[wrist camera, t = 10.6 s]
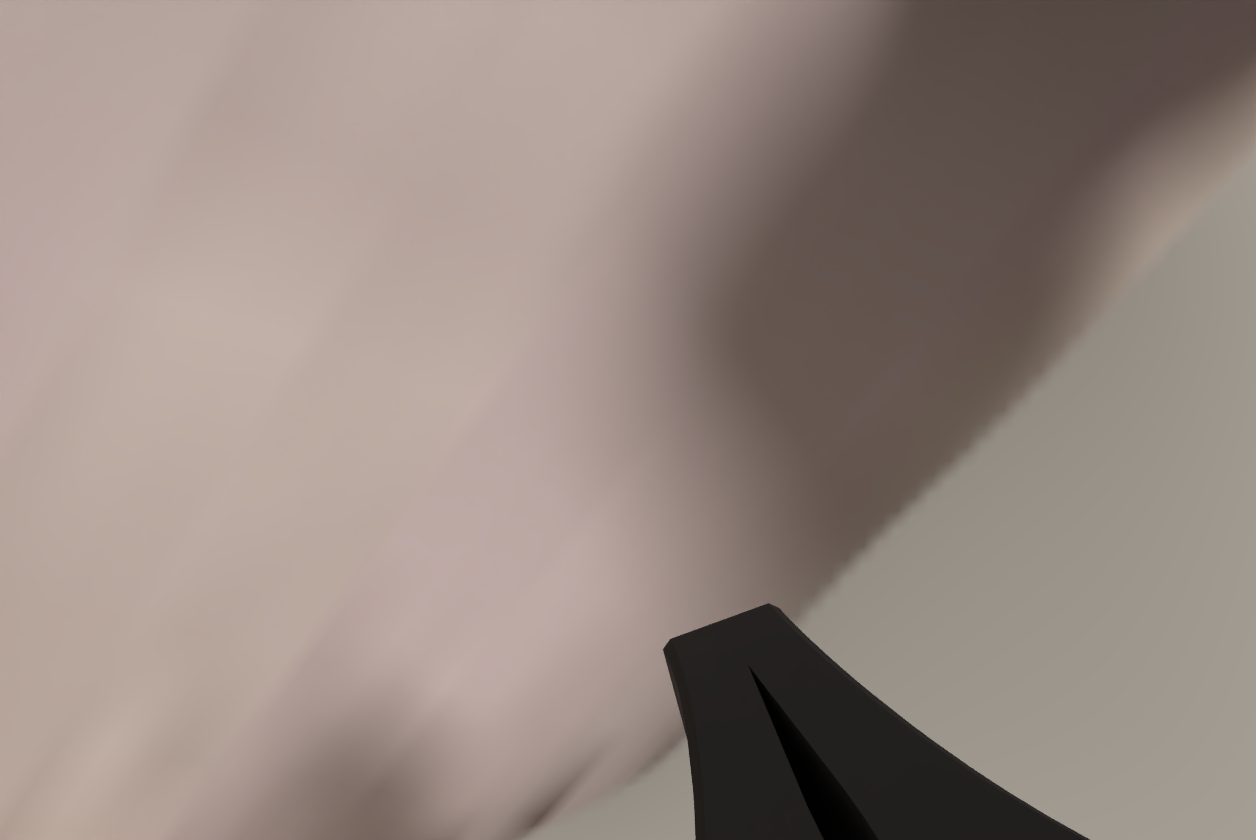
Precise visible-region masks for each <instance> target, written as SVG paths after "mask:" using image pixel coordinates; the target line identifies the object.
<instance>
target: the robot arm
mask: <svg viewBox="0 0 1256 840" xmlns="http://www.w3.org/2000/svg"><path fill="white" fill-rule="evenodd" d="M663 651H664V655H665V659H666V662H667V666H668V670H669V673H670V677H671V681H672V684H673V688H674V692H675V695H676V699H677V703H678V707H679V710H680V714H681V718H682V721H683V725H684V729H685V732H686V736H687V740H688V748H689V757H690V765H691V774H692V783H693V794H694V809H695V835H696V840H1089V839H1088V838H1086V837H1084V836H1082V835H1081V834H1078V833H1077V832H1075V831H1074V830H1072V829H1070V828H1068V827H1066V826H1065V825H1063V824H1061V823H1059V822H1057V821H1056V820H1054V819H1052V818H1050V817H1049V816H1047V815H1045V814H1044V813H1042V812H1040V811H1039V810H1037V809H1035V808H1034V807H1032V806H1031V805H1029V804H1027V803H1026V802H1024V801H1022V800H1020V799H1019V798H1017V797H1016V796H1014V795H1012V794H1011V793H1009V792H1007V791H1006V790H1004V789H1003V788H1001V787H1000V786H998V785H997V784H995V783H994V782H992V781H990V780H989V779H987V778H986V777H984V776H983V775H981V774H980V773H978V772H977V771H975V770H974V769H972V768H971V767H969V766H968V765H967V764H965V763H964V762H962V761H961V760H960V759H958V758H957V757H955V756H954V755H952V754H951V753H949V752H948V751H947V750H945V749H944V748H942V747H941V746H940V745H938V744H937V743H935V742H934V741H933V740H931V739H930V738H928V737H927V736H926V735H924V734H923V733H922V732H921V731H919V730H918V729H916V728H915V727H914V726H912V725H911V724H910V723H909V722H907V721H906V720H905V719H903V718H902V717H901V716H899V715H898V714H897V713H896V712H895V711H893V710H892V709H891V708H889V707H888V706H887V705H886V704H884V703H883V702H882V701H881V700H879V699H878V698H877V697H876V696H874V695H873V694H872V693H871V692H869V691H868V690H867V689H866V688H865V687H863V686H862V685H861V684H860V683H859V682H857V681H856V680H855V679H854V678H852V677H851V676H850V675H849V674H848V673H847V672H846V671H844V670H843V669H842V668H841V667H840V666H839V665H838V664H837V663H835V662H834V661H833V660H832V659H831V658H830V657H829V656H827V655H826V654H825V653H824V652H823V651H822V650H821V649H820V648H819V647H818V646H817V645H815V644H814V643H813V642H812V641H811V640H810V639H809V638H808V637H807V636H806V635H805V634H804V633H803V632H802V631H801V630H800V629H799V628H798V627H797V626H796V625H795V624H794V623H793V622H792V621H791V620H790V619H789V618H788V617H787V616H786V615H785V614H784V613H783V612H782V611H781V610H780V609H779V608H778V607H776V606H773V605H771V604H769V603H768V604H765V605H763V606H760V607H757V608H754V609H752V610H749V611H746V612H743V613H741V614H738V615H735V616H732V617H730V618H727V619H724V620H721V621H719V622H716V623H713V624H710V625H708V626H705V627H702V628H699V629H697V630H694V631H691V632H688V633H686V634H683V635H680V636H677V637H675V638H672V639H670V640H669V642H668V643H667V645H666V646H665V647H664V649H663Z"/></svg>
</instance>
